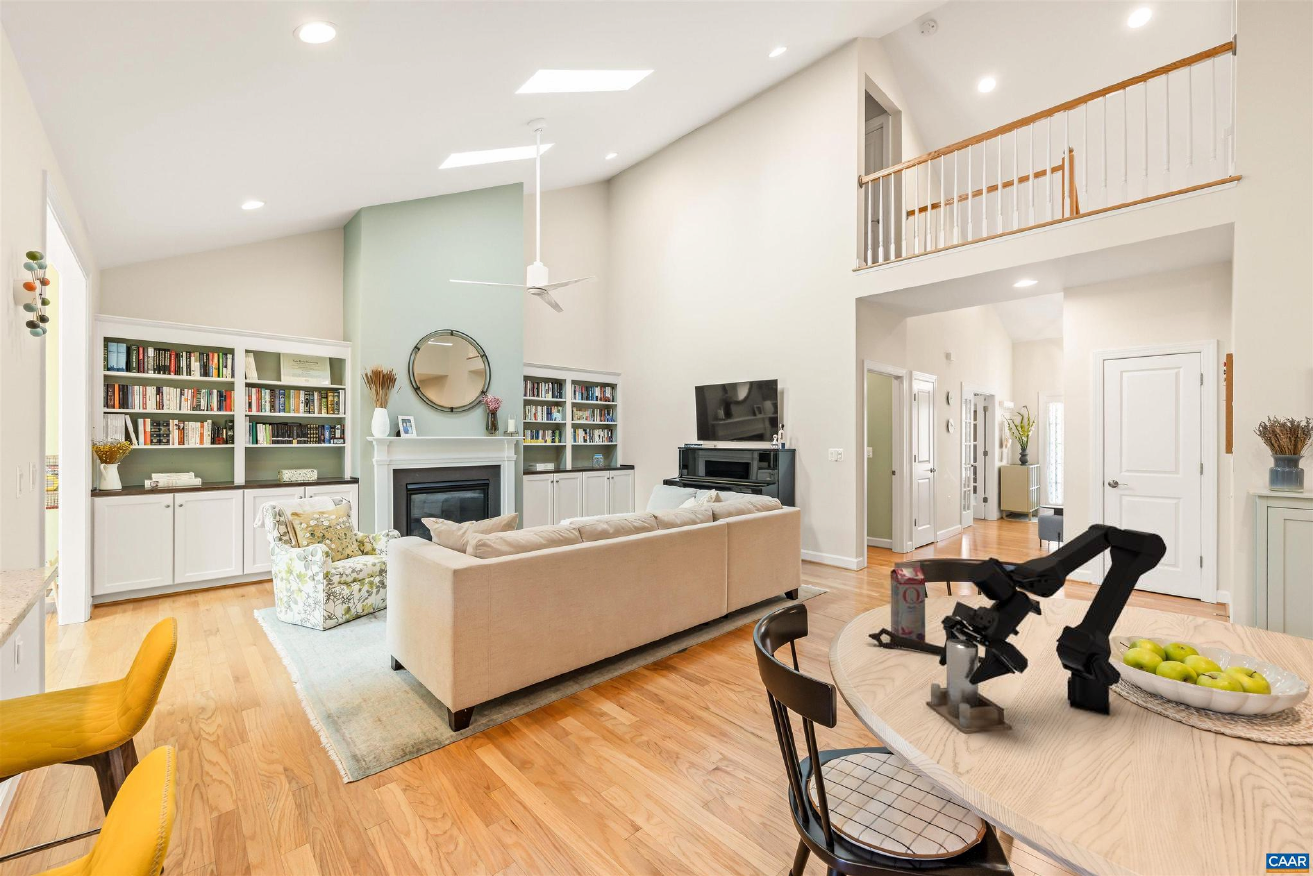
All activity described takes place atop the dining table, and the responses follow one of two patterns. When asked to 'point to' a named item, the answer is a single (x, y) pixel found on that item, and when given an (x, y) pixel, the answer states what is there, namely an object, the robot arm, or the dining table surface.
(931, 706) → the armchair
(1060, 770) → the dining table surface
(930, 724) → the dining table surface
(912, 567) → the juice carton
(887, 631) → the wrench
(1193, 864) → the dining table surface
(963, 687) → the grey cylinder
